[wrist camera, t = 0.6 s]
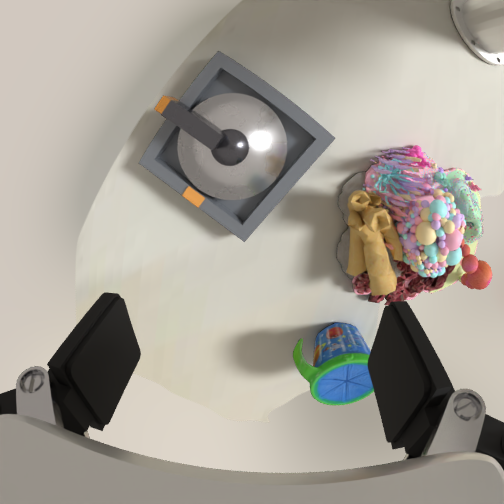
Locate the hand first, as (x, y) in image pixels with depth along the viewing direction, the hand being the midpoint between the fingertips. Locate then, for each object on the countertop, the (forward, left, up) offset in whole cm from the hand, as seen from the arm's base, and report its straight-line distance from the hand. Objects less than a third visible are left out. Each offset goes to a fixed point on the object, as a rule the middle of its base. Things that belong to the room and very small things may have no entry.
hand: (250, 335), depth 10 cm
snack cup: (+12, +25, -27) cm, 39 cm away
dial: (-1, -7, -25) cm, 26 cm away
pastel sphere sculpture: (-9, +20, -28) cm, 35 cm away
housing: (-1, -6, -27) cm, 28 cm away
